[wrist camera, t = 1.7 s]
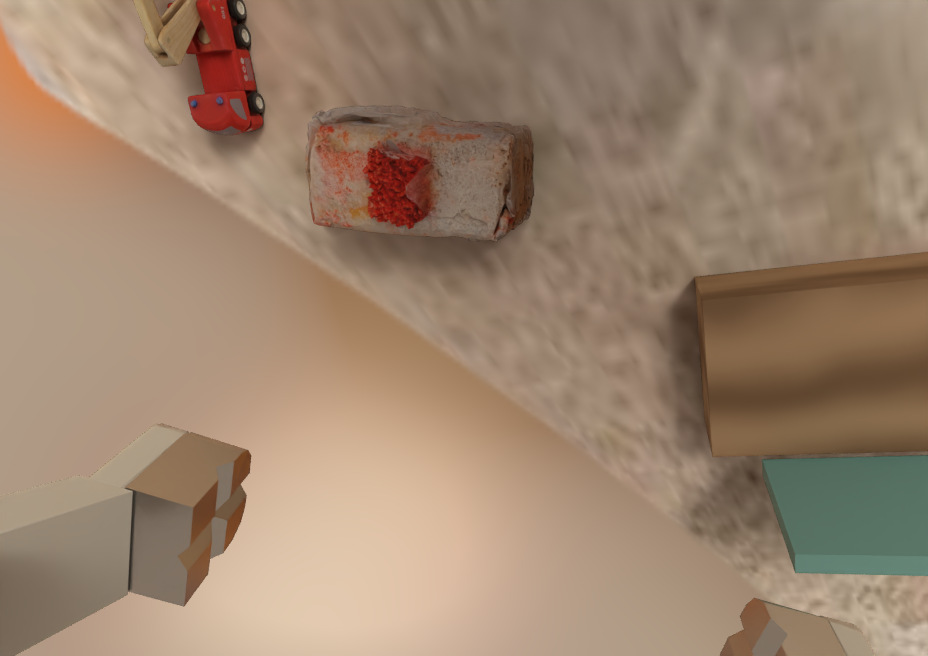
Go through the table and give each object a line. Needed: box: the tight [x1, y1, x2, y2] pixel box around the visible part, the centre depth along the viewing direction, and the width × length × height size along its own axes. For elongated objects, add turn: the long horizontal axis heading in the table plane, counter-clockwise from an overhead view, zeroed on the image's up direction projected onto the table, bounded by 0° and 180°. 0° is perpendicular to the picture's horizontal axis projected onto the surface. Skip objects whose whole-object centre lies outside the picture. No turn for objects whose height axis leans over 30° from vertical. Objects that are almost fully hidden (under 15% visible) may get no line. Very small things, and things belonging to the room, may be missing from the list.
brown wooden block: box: [695, 252, 928, 457], centre depth 39 cm, size 11×18×5 cm, turn 101°
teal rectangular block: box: [762, 455, 928, 576], centre depth 35 cm, size 1×12×9 cm, turn 100°
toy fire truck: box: [133, 0, 264, 135], centre depth 40 cm, size 3×14×10 cm, turn 5°
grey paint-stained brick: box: [306, 106, 534, 242], centre depth 39 cm, size 14×8×10 cm, turn 90°
